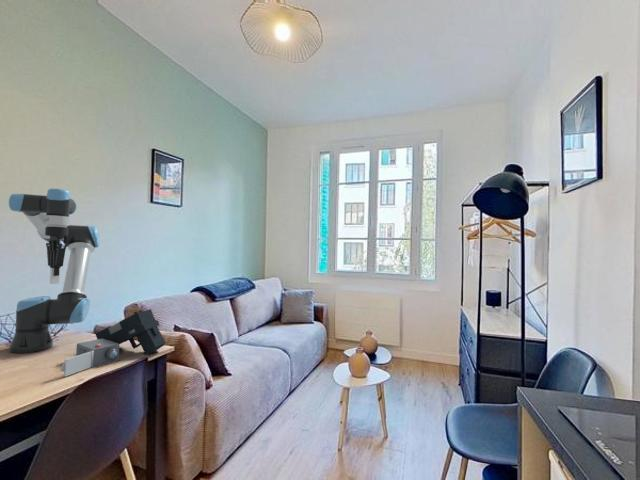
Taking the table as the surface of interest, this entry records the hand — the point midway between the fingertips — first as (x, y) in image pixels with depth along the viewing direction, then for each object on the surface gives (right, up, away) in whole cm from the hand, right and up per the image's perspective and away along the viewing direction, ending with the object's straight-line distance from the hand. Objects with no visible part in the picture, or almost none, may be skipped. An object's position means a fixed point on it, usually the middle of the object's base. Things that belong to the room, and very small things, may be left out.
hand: (54, 283), depth 137 cm
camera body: (+16, -33, +3) cm, 37 cm away
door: (+17, -32, -10) cm, 38 cm away
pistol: (+21, -34, +18) cm, 44 cm away
